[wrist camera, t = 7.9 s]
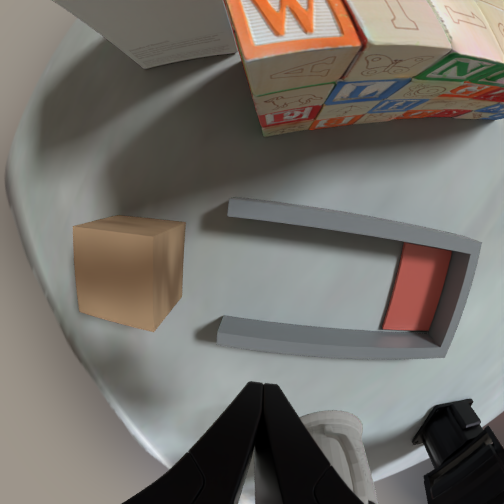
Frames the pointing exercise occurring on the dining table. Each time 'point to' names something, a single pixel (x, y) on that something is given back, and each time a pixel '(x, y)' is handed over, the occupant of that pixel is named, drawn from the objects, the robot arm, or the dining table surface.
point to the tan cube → (129, 269)
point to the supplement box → (159, 27)
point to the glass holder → (343, 449)
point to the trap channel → (402, 299)
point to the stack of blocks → (369, 60)
